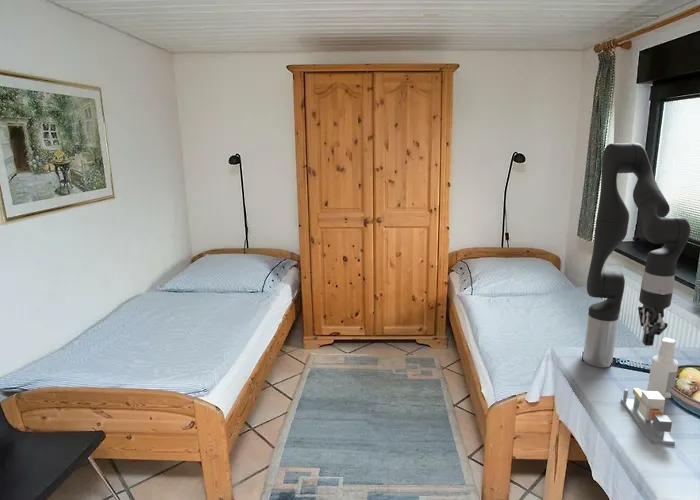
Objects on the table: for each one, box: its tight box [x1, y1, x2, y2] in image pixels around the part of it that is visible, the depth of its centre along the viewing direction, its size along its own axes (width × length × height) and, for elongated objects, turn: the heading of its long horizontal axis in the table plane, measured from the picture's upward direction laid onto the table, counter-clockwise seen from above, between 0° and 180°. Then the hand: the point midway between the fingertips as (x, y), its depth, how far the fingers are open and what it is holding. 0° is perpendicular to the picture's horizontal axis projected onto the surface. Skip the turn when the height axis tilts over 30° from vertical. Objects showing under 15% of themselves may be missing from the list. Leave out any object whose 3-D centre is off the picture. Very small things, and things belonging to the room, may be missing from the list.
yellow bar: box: [632, 387, 673, 433], centre depth 136 cm, size 18×3×3 cm, turn 173°
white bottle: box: [647, 337, 679, 399], centre depth 150 cm, size 7×7×18 cm
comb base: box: [620, 388, 676, 446], centre depth 137 cm, size 20×6×4 cm, turn 173°
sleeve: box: [639, 390, 666, 420], centre depth 135 cm, size 4×4×6 cm
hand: (647, 344), depth 140 cm, fingers closed
